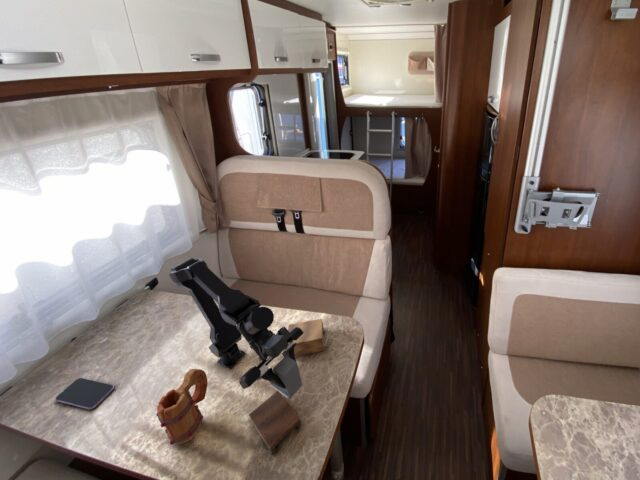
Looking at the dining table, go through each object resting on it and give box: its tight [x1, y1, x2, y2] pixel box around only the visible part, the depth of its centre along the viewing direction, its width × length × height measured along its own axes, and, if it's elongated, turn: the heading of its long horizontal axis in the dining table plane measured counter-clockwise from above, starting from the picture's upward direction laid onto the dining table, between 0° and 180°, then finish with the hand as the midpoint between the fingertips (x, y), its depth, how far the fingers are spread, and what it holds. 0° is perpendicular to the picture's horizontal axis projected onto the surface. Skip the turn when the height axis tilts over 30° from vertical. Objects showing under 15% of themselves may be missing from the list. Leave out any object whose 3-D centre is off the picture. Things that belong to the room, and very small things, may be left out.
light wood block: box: [287, 318, 325, 357], centre depth 107 cm, size 12×9×6 cm
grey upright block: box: [268, 355, 303, 400], centre depth 84 cm, size 8×5×10 cm, turn 58°
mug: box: [155, 368, 209, 446], centre depth 83 cm, size 15×8×15 cm, turn 168°
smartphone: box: [54, 377, 115, 411], centre depth 95 cm, size 7×1×15 cm
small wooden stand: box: [248, 390, 302, 455], centre depth 84 cm, size 12×9×3 cm
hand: (291, 380), depth 83 cm, fingers closed on grey upright block, 4 cm apart
